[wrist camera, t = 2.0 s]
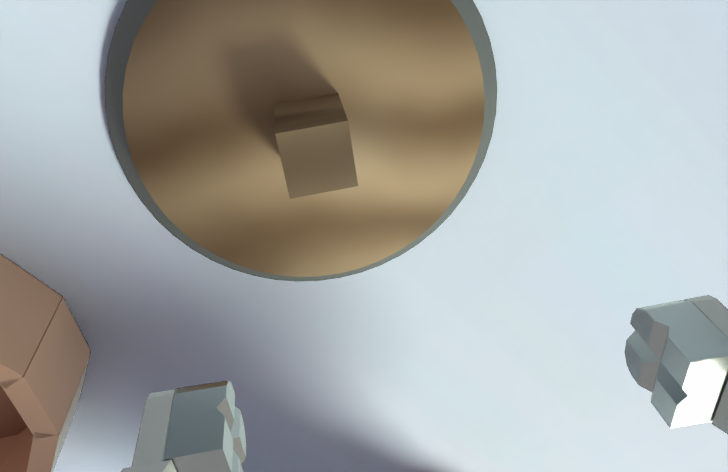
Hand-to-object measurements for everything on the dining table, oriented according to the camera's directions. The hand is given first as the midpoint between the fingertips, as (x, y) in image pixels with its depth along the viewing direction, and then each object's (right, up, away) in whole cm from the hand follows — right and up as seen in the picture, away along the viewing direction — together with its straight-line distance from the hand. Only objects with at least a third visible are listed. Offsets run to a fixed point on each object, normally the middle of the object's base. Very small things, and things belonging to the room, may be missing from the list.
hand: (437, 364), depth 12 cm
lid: (-4, +8, +19) cm, 21 cm away
